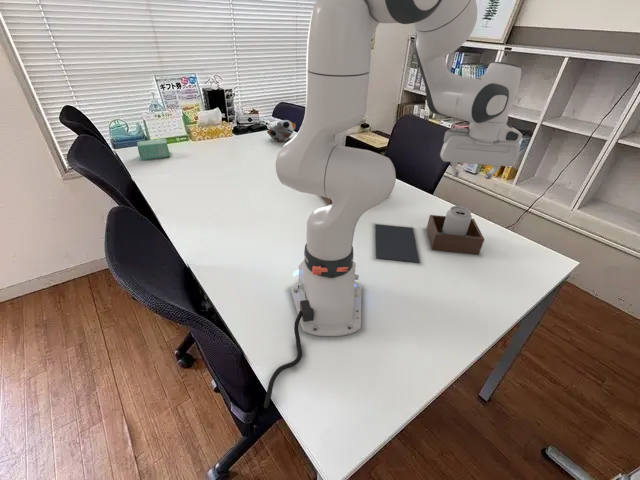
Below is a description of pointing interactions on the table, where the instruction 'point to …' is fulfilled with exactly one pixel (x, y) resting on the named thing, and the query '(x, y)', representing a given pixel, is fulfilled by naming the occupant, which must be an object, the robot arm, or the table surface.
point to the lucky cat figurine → (282, 130)
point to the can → (457, 221)
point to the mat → (396, 243)
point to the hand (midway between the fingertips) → (471, 177)
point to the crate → (454, 237)
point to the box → (153, 149)
